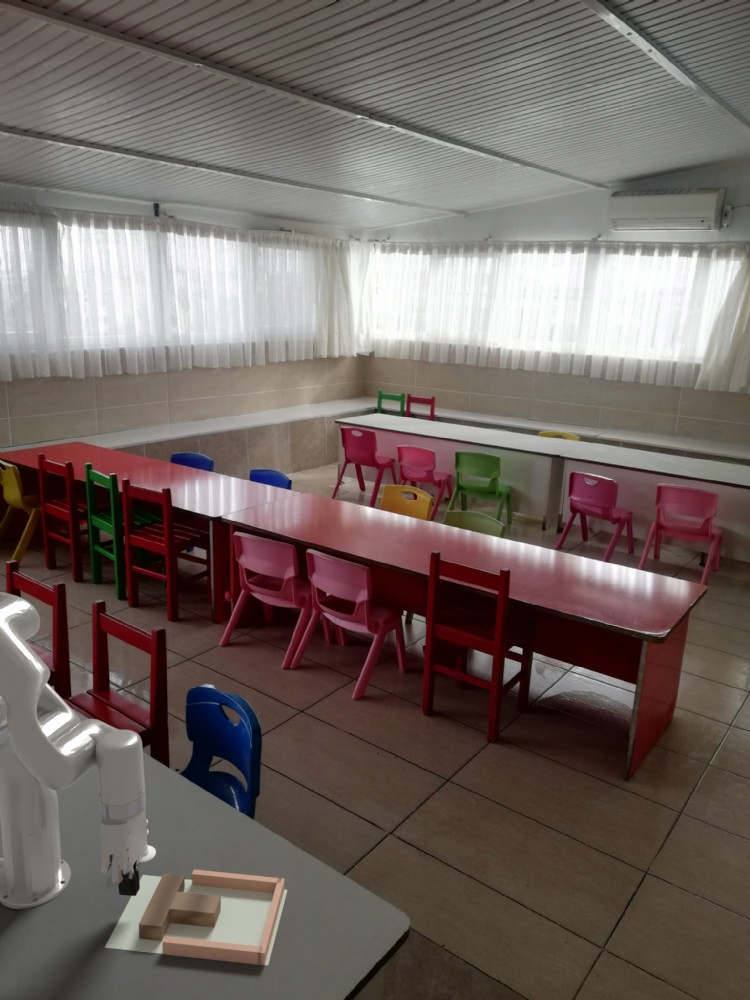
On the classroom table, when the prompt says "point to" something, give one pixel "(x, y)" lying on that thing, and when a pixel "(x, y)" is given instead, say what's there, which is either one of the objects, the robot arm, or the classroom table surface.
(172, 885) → the t block
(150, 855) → the chess piece
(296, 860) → the classroom table surface
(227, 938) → the mat
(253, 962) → the pocket
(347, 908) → the classroom table surface
